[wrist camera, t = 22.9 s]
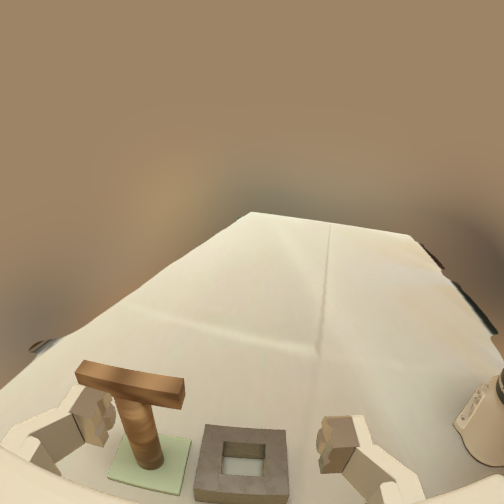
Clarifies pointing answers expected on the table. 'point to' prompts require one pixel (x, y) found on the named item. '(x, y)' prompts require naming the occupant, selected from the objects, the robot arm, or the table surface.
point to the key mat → (156, 480)
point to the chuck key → (136, 404)
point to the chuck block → (242, 446)
